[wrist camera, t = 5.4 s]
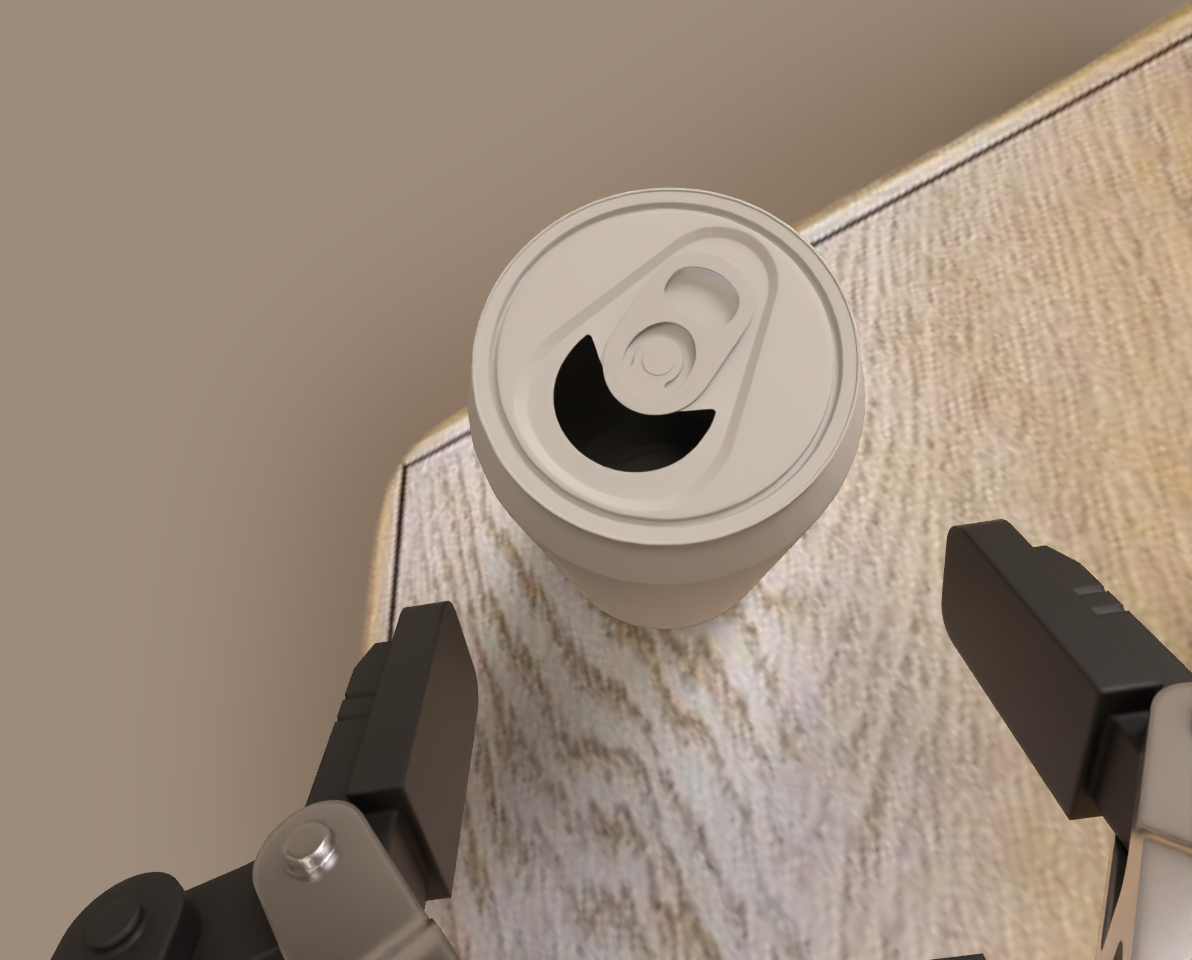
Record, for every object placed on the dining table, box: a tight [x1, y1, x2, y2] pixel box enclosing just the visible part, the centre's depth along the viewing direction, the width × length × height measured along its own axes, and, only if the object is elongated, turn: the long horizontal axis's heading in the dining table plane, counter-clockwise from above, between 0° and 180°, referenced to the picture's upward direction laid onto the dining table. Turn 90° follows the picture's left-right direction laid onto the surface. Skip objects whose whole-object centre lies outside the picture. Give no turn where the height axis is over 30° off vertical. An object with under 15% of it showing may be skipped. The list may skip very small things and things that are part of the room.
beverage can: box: [468, 188, 865, 629], centre depth 16 cm, size 6×6×12 cm
